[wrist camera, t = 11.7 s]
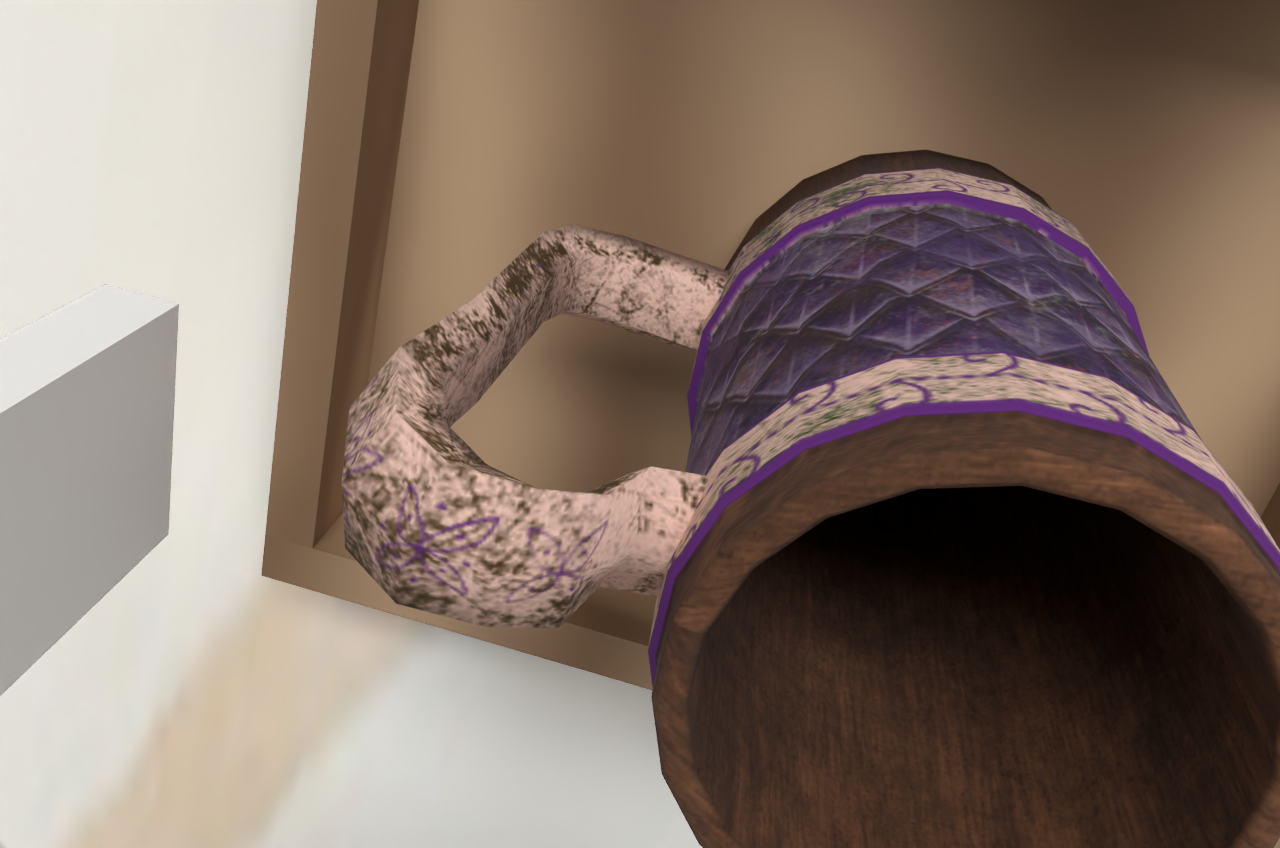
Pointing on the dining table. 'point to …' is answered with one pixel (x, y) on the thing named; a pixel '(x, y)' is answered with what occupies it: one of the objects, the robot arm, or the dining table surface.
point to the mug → (873, 527)
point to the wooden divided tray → (744, 212)
